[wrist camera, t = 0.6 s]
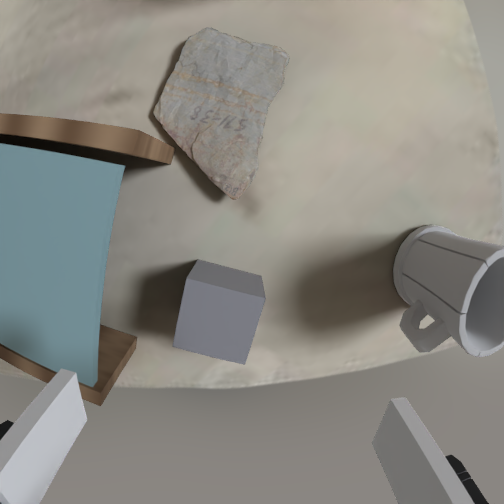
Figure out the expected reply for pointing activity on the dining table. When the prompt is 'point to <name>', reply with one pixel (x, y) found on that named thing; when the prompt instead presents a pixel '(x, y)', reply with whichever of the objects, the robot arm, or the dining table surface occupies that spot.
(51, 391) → the robot arm
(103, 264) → the trapdoor
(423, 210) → the dining table surface
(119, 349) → the brown open boxy piece
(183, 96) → the stone
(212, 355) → the block
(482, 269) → the cup
